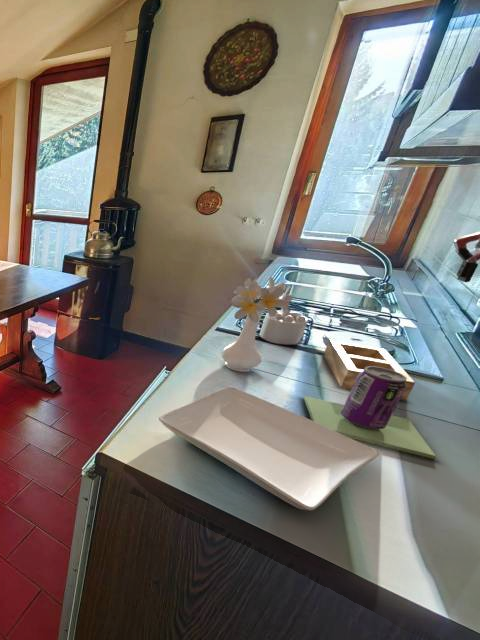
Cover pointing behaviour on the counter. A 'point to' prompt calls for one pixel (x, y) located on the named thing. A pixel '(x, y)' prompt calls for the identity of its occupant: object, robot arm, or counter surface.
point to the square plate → (270, 445)
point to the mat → (392, 436)
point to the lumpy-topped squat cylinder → (284, 327)
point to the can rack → (360, 363)
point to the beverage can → (374, 397)
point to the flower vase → (253, 320)
